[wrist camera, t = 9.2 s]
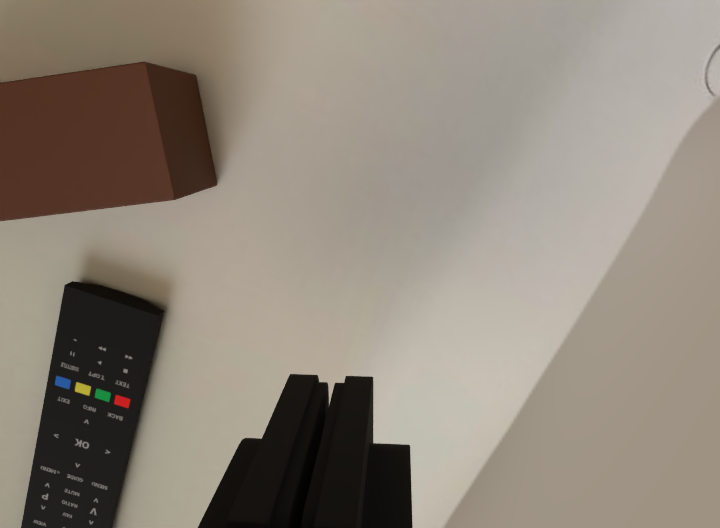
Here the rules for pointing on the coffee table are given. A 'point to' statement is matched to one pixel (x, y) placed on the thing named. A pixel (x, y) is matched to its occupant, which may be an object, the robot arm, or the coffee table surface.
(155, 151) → the bottle
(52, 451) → the remote control
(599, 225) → the coffee table surface
